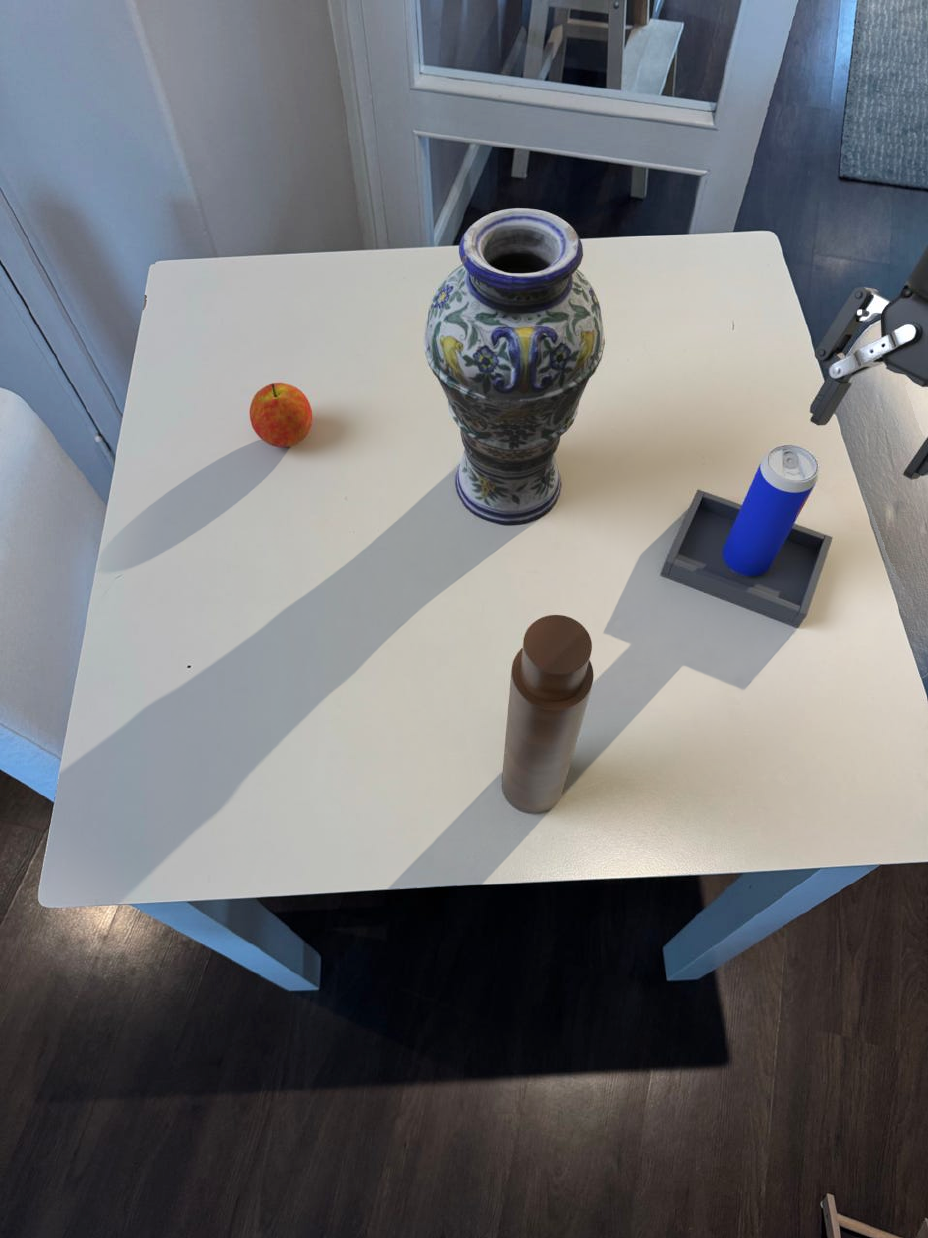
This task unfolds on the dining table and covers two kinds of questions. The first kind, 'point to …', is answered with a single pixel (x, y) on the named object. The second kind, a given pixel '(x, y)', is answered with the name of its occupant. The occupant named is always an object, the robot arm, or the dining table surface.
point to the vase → (514, 357)
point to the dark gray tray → (768, 594)
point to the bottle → (545, 711)
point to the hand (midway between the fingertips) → (862, 449)
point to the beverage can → (770, 509)
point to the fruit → (281, 415)
